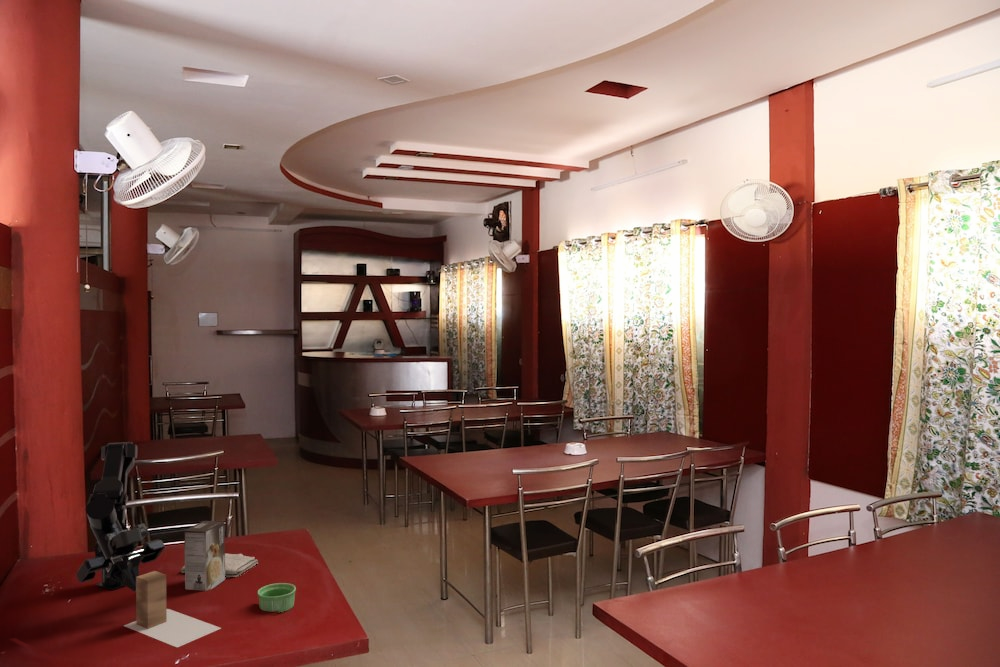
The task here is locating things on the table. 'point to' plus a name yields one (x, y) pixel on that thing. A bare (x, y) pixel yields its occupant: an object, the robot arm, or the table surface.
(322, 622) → the table surface
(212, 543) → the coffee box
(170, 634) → the mat
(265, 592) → the ramekin
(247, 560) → the washcloth
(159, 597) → the walnut block
